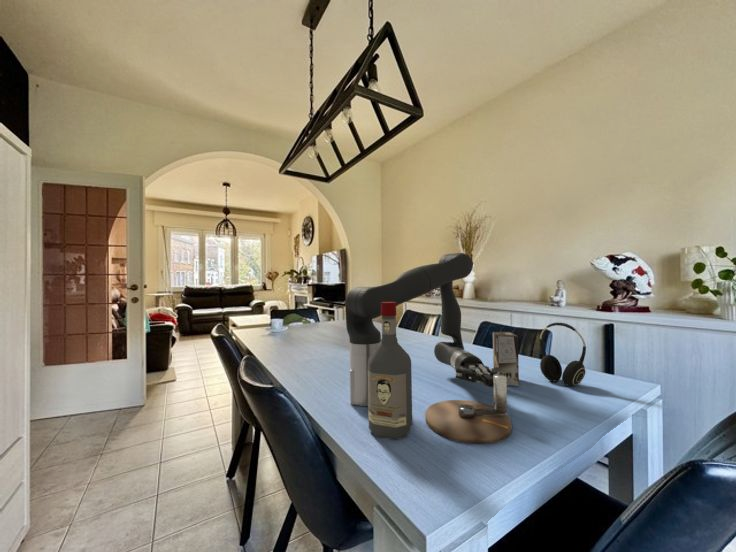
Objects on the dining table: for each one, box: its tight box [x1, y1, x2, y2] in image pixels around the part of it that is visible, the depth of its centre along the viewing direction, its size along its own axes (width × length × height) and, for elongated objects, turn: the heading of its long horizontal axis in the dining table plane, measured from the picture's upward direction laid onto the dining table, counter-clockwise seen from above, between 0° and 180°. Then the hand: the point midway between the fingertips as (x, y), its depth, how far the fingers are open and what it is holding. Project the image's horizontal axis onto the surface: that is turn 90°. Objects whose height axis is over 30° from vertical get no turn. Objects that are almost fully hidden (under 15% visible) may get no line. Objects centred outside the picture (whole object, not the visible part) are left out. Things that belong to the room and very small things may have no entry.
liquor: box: [367, 302, 413, 441], centre depth 73 cm, size 9×9×30 cm
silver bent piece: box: [458, 374, 508, 418], centre depth 76 cm, size 12×4×9 cm, turn 93°
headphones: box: [539, 322, 587, 387], centre depth 102 cm, size 9×15×20 cm, turn 28°
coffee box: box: [492, 331, 520, 387], centre depth 105 cm, size 9×6×16 cm
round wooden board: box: [424, 399, 513, 445], centre depth 76 cm, size 20×20×2 cm
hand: (491, 383), depth 79 cm, fingers closed
